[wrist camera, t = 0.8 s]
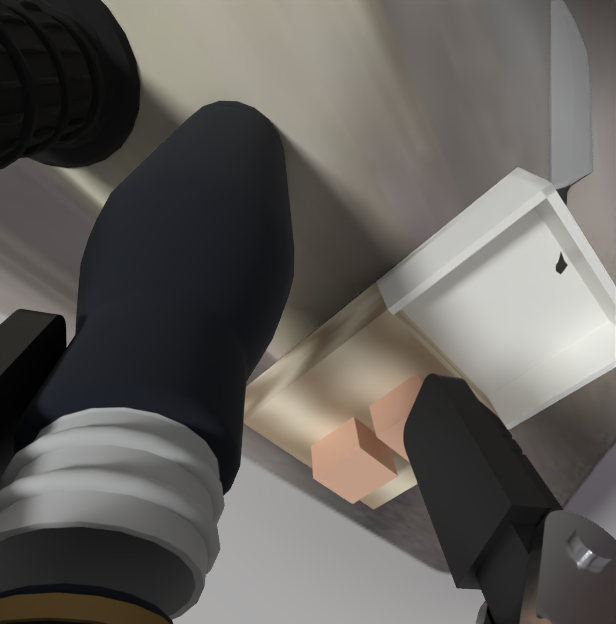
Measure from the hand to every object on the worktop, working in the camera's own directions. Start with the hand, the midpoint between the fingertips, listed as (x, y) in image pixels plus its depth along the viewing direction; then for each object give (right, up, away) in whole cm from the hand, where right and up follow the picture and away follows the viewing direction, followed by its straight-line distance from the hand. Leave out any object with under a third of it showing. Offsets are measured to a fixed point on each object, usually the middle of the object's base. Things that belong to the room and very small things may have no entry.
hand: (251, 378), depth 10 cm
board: (+7, -5, +27) cm, 28 cm away
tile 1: (+5, -9, +25) cm, 27 cm away
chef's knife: (+18, +13, +18) cm, 28 cm away
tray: (+16, +2, +23) cm, 28 cm away
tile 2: (+9, -6, +23) cm, 25 cm away
